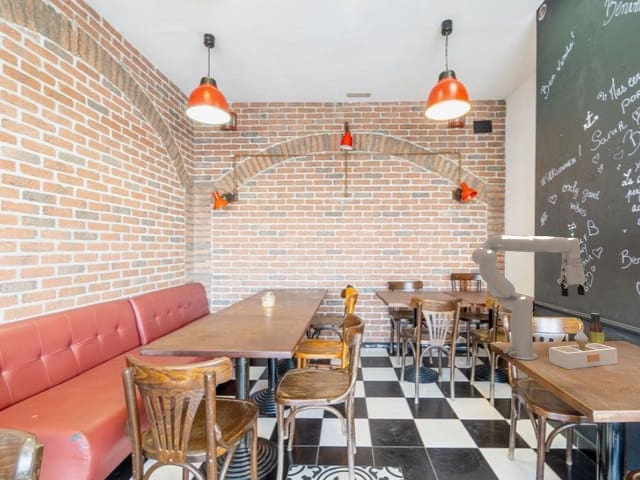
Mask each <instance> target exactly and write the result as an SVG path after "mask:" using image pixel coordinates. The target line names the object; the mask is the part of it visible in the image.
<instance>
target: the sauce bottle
mask: <svg viewBox="0 0 640 480" xmlns="http://www.w3.org/2000/svg"><path fill="white" fill-rule="evenodd" d="M589 314H590V315H589V316H590V321H591V322H590V324H589V325H588V328H589V331H588V333H589V344H591V343H598V344H601V345H605V346H606V336H605V328H604V326H603V324H602V321H601V313H599V312H590V313H589Z"/></svg>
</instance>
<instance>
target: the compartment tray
mask: <svg viewBox="0 0 640 480" xmlns="http://www.w3.org/2000/svg"><path fill="white" fill-rule="evenodd" d="M548 356H549V357H548V361H549V363H551V364H553V365H556V366H558V367H561V368H564V369H566V370H575V369H582V368H590V367H599V366H608V365H618V361H619V360H618V348H616V347H612V346H608V345H606V344H605V345H601V344H598V343H591V344H590V343H587V345H585V347H584V351H581V350H580V348H579V345H578V344H574V345H565V346H563V345H562V346H554V347H553V346H552V347H548Z"/></svg>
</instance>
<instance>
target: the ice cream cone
mask: <svg viewBox="0 0 640 480" xmlns="http://www.w3.org/2000/svg"><path fill="white" fill-rule="evenodd" d="M573 338H574V341H575V343H576V345H579V348H580V350H581V351H584V347H585V345H587V344H588V342H589V337H588V336H587V334H586V333H584V331H583V330H582V328H580V329H579V331H578V332H577V333H576V334H575V335H574V337H573Z"/></svg>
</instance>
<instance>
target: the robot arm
mask: <svg viewBox="0 0 640 480" xmlns="http://www.w3.org/2000/svg"><path fill="white" fill-rule="evenodd" d="M498 252H516V253H517V252H519V253H520V252H521V253H541V252H544V253H561V263H562V264H561V270H560V277H559V278H558V279H556V282H557V284H558V286H559V288H560V289H561V297H569V288H568V287H569V285H573V286H575V285H577V295H579V296H585V287H586V285H587V282H588V278H587V277H586V276H585V271H584V268H583V265H582V264H581V247H580V239H579V237H564V236H561V237H559V236H541V235H539V236H538V235H537V236H536V235H526V234H525V235H520V234H519V235H518V234H495V235H492V236H491V237H489V238H488V239H486V240H485V241H484V242H483V243H482V244H480V245H479V246H478V247H477V248H476V249H474V250H473V252H472V253H471V260H472V262H474V264H477V265H478V269H479V275H480V277H481V279H482V280H483V281H484V282H485V283H486V285H487V286H486V287H487V288H486V289H487V291H488V292H489V294H490V295H491V296H492V297H493V299H495V300H496V301H497V302H498V303H499V304H500V305H502V306H503V307H504V308H505V309H507V310H510V311H511V313H510V320H509V322H510V343H511V344H510V345H511V346H509V348H508V349H503V350H502V351H503V354H508V356H509V357H511V358H513V359H517V360H521V361H533V360H536V359H538V355H537V354H536V353H534V344H533V341H534V340H533V339H534V338H533V321H532V320H533V312H534V311H533V310H534V303H533V301H532V299H531V298H530V297H528V295H525V294H522V293H517V292H516V289H515V285H514V283H512V282H511V281H510V280H509V279H508V278H507V277H506V276H504V275H503V274H502V273H501V272H500V271H499V270H498V268H497V260H498V256H497V253H498Z"/></svg>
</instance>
